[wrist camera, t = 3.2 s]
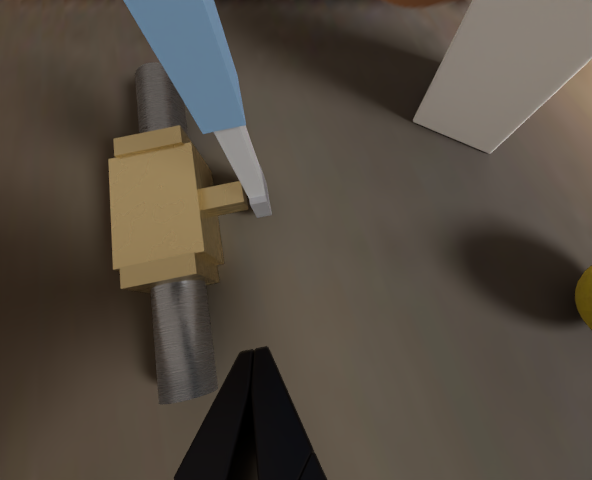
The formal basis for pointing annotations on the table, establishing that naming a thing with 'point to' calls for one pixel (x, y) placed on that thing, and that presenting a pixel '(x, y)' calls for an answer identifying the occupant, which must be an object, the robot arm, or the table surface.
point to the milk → (505, 67)
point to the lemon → (585, 296)
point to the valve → (169, 233)
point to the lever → (204, 80)
